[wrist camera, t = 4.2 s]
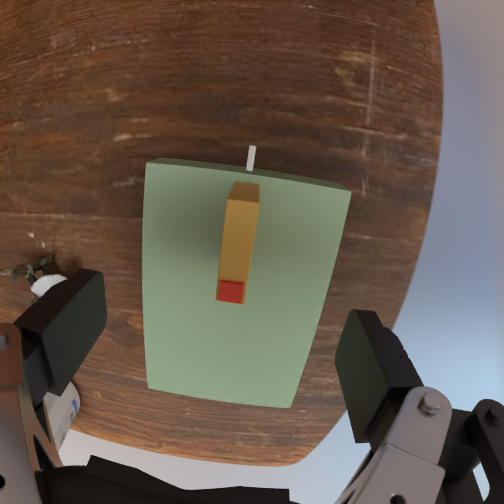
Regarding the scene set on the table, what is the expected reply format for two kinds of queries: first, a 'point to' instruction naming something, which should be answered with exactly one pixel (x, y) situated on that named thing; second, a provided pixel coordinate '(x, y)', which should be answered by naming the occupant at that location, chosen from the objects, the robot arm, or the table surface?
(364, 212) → the table surface
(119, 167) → the table surface
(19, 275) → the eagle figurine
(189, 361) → the lock plate
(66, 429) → the supplement tub
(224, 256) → the thumbturn
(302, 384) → the table surface
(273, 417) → the table surface
